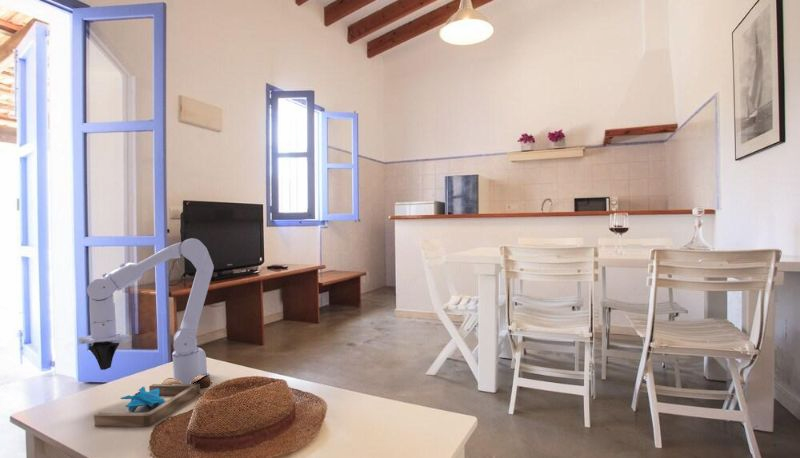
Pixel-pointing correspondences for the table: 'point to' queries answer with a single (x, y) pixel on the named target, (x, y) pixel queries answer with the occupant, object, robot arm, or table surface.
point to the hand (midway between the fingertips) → (105, 368)
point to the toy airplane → (144, 399)
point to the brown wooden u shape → (147, 419)
